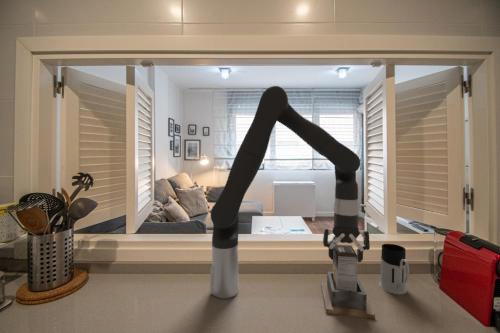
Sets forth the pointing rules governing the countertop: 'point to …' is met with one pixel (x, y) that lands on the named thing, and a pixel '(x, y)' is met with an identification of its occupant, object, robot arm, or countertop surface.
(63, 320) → the countertop surface
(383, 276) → the glass holder
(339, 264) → the coffee box
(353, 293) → the dock
